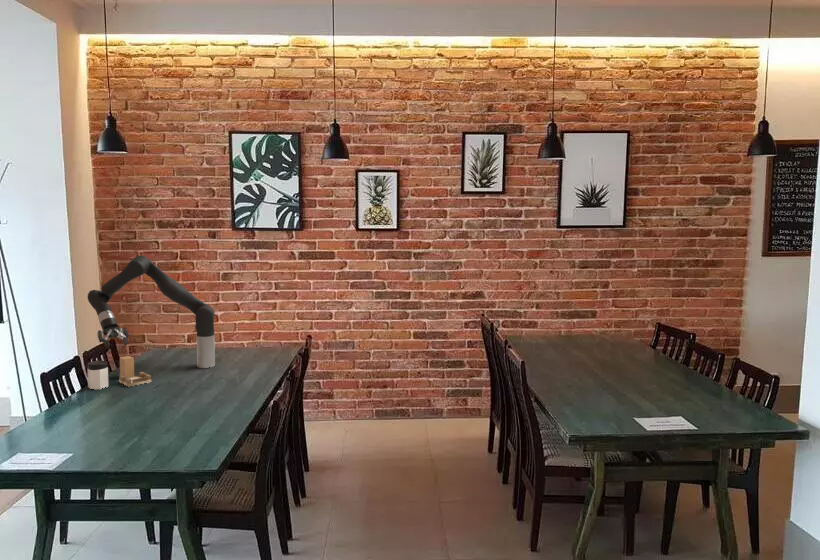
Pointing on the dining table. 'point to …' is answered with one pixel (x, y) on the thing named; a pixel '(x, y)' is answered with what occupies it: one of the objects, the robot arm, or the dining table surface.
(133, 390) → the dining table surface
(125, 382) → the display stand
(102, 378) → the jar
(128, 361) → the case
